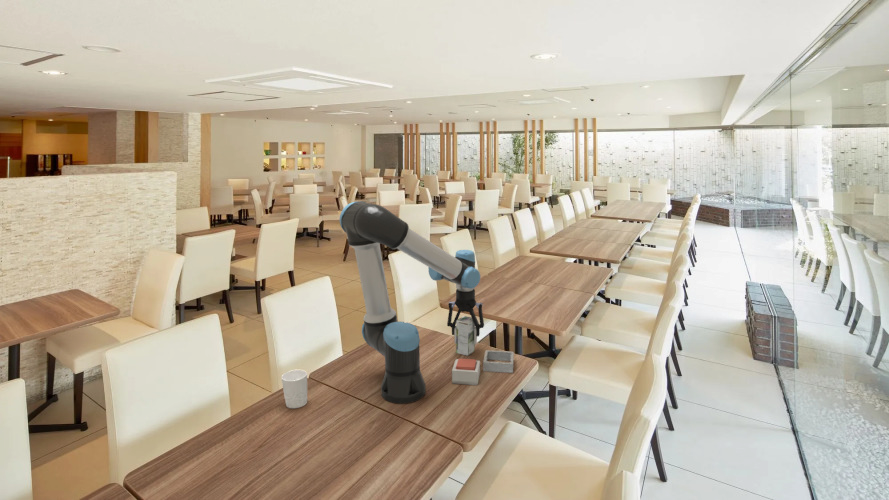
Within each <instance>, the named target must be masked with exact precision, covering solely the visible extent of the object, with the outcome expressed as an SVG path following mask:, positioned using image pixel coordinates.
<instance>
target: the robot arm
mask: <svg viewBox="0 0 889 500" xmlns="http://www.w3.org/2000/svg"><path fill="white" fill-rule="evenodd" d="M339 225H340V228H341V230H342V231H343V232H344V233H345V234H346V237H347V238H346V239H347V241H348V246H350V247H351V248H353V250H354V254H355V260H356V264H357V269H358V274H359V279H360V285H361V291H362V295H363V300H364V305H365V311H366V312H365V314H364V316H363V317H362V318H363V324H362V327H361V335H362V338H363V340H364V341H365V342H366V344H367V345H368V346H369V347H371V348H372V349H374V350H375V351H377V352H378V353H379V354H380V355H382V356H383V357H384V365H385V366H384V367H385V368H384V369H385V372H384V377H383V379H382V382H381V386H380V394H381V397H382V398H383V399H384V400H385V401H387V402H390V403H393V404H409V403H413V402H416V401H418V400H420V399H422V398H423V397H424V396H425V394H426V390H427V389H426V382H425V380H424V376H423V375H422V372H421V363H420V362H421V361H420V358H421V357H420V342H421V339H420V333H419V332H420V331H419V330H418V328H417V326H415V325H414V324H413V323H410V322H405V321H398V316H397V312H396V310H395V309H394V308H392V307H391V302H390V297H389V291H388V285H387V278H386V274H385V268H384V262H383V256H382V250H381V245H383V246H385V247H388V248H389V249H391V250H396V249H397V250H399V251H400V252H403V254H406V255H407V256H409V257H411V258H413V259H414V260H416V261H418V262H419V263H421V264H422V265H425V266H426V267H427V268H428V275H429V277H430V279H431V280H432V281H441V280H444V281H447V282H449V283H453V284H455V288H456V289H455V301H449V302H448V315H447V316H448V317H447V324H446V325H447V327H450V328H451V335H452V336H454V344H455V345H456V320H458V319H459V318H460V315H461V313H465V312H467V313H469V315H470V317H472V319H473V322H474V324H475V329H474V345H475V346H476V345H477V343H478V337H480V333H481V332H480V331H481V330H480V329H484V327H485V321H484V314H483V302H477V301H476V289H475V288H476V287H477V286H478V285H479V283H480V281H481V272H480V271H479V270H478V269H477V268H476V256H475V255H476V254H475V252H474V251H472V249H471V250H470V249H460V250H457V251H455V255H454V256H453V255H452V254H450V253H449V252H447V251H446V250H443V248H441V247H439V246H438V245H436V244H434V243H433V242H431V241H430V240H428V239H426V238H425V237H423V236H422V235H421V234H419V233H417V232H416V231H414V230H412V229H411V228H410V226H409V224H408V222H406V221H405V220H403V219H401V218H400V217H398V216H397V215H396V214H395V213H393V212H392V211H390V210H388V209H387V208H385V207H384V206H382V205H379V204H376V203H369V202H366V201H363V200H362V201H353V202H350V203H347V204H346V205H345V206H344V207H343V209H342V210H341V212H340V214H339ZM475 306H476V308H477V311H478V318H477V315H476V313H475V310H474V309H475ZM454 307H456V308H457V309H458V310H457V312H456V314H455V317H454V319H452V318H453V312H454V311H453V310H454ZM478 319H479V321H478ZM452 320H453V322H452Z"/></svg>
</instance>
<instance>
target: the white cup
mask: <svg viewBox="0 0 889 500" xmlns="http://www.w3.org/2000/svg"><path fill="white" fill-rule="evenodd" d="M280 379H281V384H282V390H283V395H284V396H283V397H284V401H285V406H286V407H287V408H288V409H298V408H301V407H304V406H305V405H306V404H307V403H308V372H307V371H306V370H304V369H293V370H288V371H287V372H284V373H282V375H281V378H280Z"/></svg>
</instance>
